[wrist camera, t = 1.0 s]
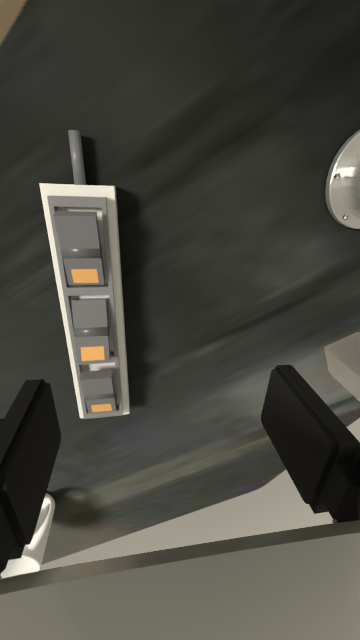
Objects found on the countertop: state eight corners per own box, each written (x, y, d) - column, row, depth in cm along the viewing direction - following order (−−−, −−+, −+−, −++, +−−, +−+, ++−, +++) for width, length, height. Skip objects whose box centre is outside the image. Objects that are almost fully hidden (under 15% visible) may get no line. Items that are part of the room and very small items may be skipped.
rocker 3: (111, 368, 37) (111, 379, 35) (116, 401, 42) (116, 412, 41) (81, 370, 36) (79, 381, 35) (89, 404, 41) (88, 414, 40)
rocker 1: (96, 211, 28) (95, 217, 27) (105, 277, 33) (104, 285, 32) (56, 210, 28) (52, 216, 26) (71, 278, 33) (68, 286, 31)
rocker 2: (107, 297, 34) (105, 299, 33) (110, 357, 36) (109, 362, 34) (74, 298, 34) (70, 300, 32) (79, 359, 35) (76, 364, 34)
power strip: (112, 135, 30) (109, 127, 26) (129, 400, 46) (129, 419, 42) (38, 130, 29) (24, 122, 25) (83, 404, 45) (78, 424, 41)
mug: (76, 489, 54) (64, 554, 45) (38, 520, 56) (18, 587, 47) (39, 473, 50) (18, 539, 41) (-1, 506, 53) (-30, 576, 43)
